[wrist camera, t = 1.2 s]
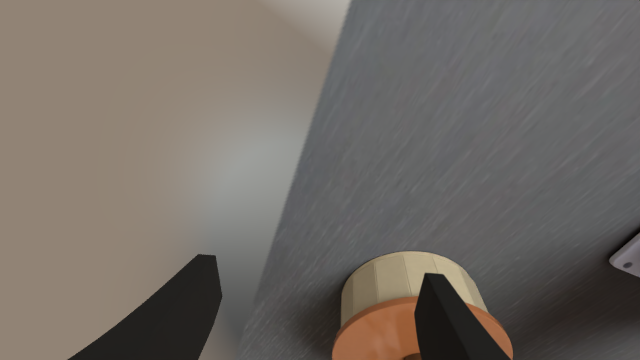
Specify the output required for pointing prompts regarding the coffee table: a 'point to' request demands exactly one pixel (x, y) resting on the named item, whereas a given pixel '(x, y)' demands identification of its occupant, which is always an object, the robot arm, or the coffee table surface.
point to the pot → (402, 281)
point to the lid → (397, 332)
